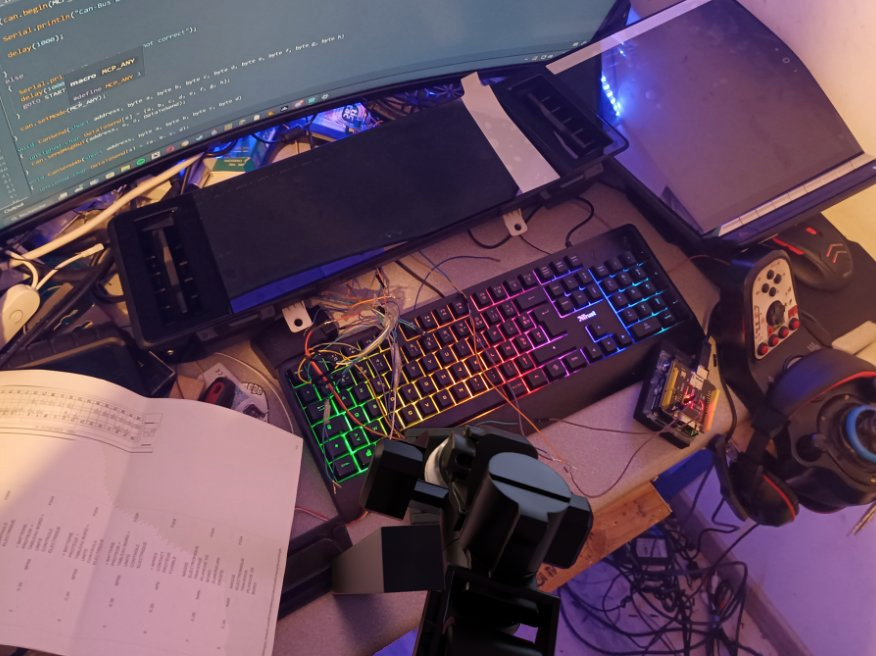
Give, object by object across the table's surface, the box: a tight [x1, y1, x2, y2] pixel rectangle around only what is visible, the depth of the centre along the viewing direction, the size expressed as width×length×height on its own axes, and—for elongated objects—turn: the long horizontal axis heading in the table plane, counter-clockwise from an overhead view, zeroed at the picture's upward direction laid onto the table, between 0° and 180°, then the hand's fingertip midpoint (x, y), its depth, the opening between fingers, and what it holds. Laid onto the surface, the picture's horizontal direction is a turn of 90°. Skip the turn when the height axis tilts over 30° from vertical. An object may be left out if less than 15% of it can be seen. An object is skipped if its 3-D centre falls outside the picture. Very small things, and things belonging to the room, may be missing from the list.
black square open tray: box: [404, 427, 465, 525], centre depth 73 cm, size 9×9×2 cm
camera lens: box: [425, 438, 451, 488], centre depth 70 cm, size 6×6×8 cm
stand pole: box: [331, 523, 445, 595], centre depth 52 cm, size 3×3×38 cm
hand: (471, 448), depth 68 cm, fingers open, 9 cm apart
